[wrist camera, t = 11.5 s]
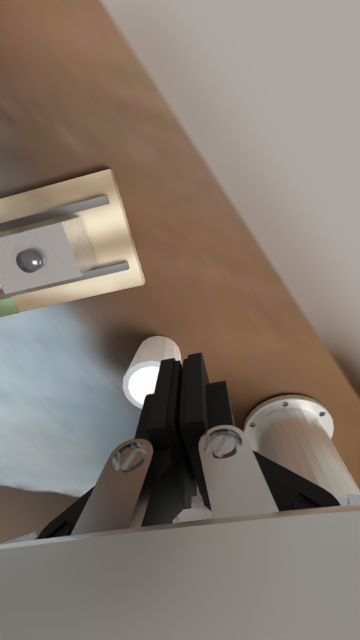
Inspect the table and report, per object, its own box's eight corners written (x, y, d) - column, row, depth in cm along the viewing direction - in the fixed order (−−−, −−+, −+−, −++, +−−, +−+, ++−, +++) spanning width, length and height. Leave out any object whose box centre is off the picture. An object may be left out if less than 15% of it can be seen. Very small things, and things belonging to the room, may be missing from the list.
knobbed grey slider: (97, 263, 32) (79, 278, 27) (30, 279, 33) (0, 296, 28) (71, 192, 29) (45, 193, 24) (-1, 211, 30) (-41, 216, 25)
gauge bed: (145, 281, 34) (135, 303, 28) (-51, 325, 37) (-102, 354, 31) (112, 169, 30) (91, 164, 23) (-109, 229, 33) (-184, 240, 26)
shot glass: (130, 331, 37) (118, 361, 31) (184, 330, 37) (184, 360, 31) (135, 376, 40) (125, 412, 34) (185, 376, 40) (185, 412, 33)
